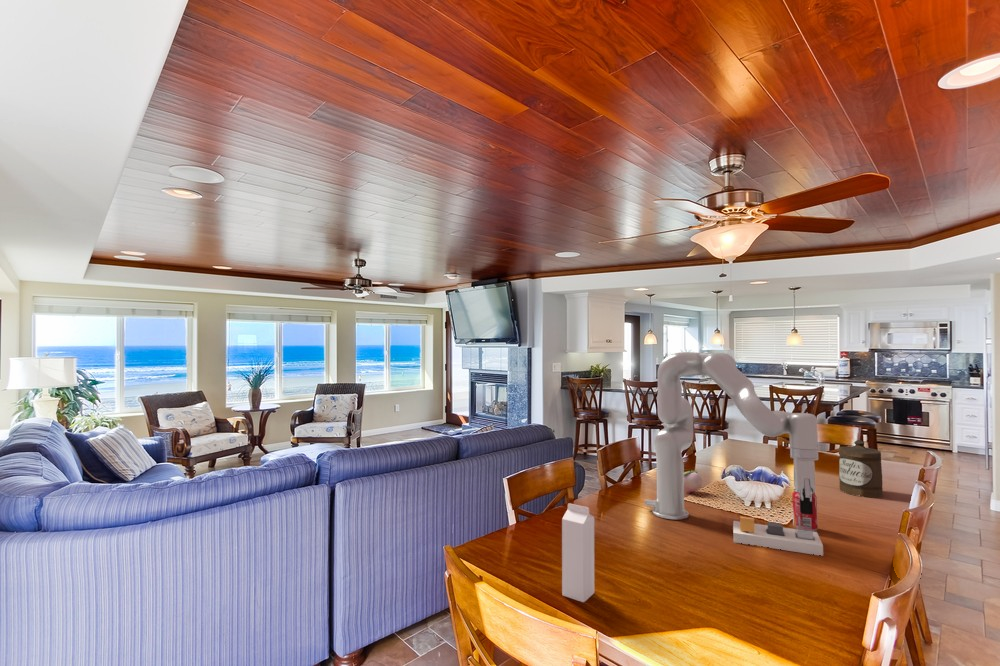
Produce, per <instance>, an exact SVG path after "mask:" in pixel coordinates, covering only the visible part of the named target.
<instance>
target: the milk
mask: <svg viewBox="0 0 1000 666" xmlns="http://www.w3.org/2000/svg"><path fill="white" fill-rule="evenodd" d="M561 565H562V566H561V572H562V573H561V575H562V576H561V593H562V596H563V597H566V598H569V599H572V600H575V601H578V602H580V603H582V604H583V603H585V602H587V600H589V598H591V597H592V596H593V595H594V594H595V516H593V515H592V514H591V513H590V508H589V507H588V506H583V505H579V504H574V503H570V502H569V503H567V510H566V511H565V512H564V515H563V517H562V519H561Z"/></svg>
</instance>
